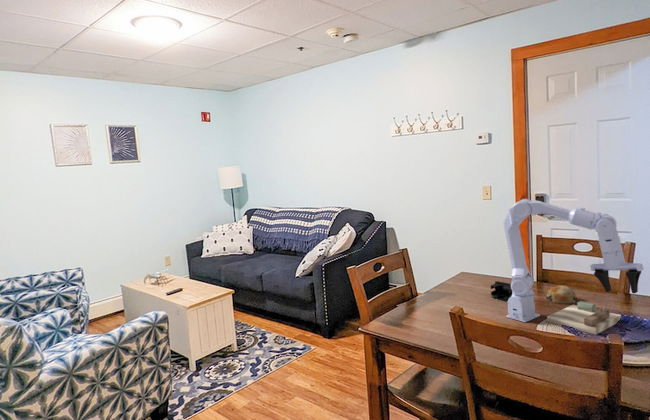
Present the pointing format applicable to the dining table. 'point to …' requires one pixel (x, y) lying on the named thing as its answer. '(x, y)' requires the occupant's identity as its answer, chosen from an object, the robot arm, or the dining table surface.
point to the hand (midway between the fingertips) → (621, 291)
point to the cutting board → (582, 318)
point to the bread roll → (561, 295)
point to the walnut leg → (597, 317)
